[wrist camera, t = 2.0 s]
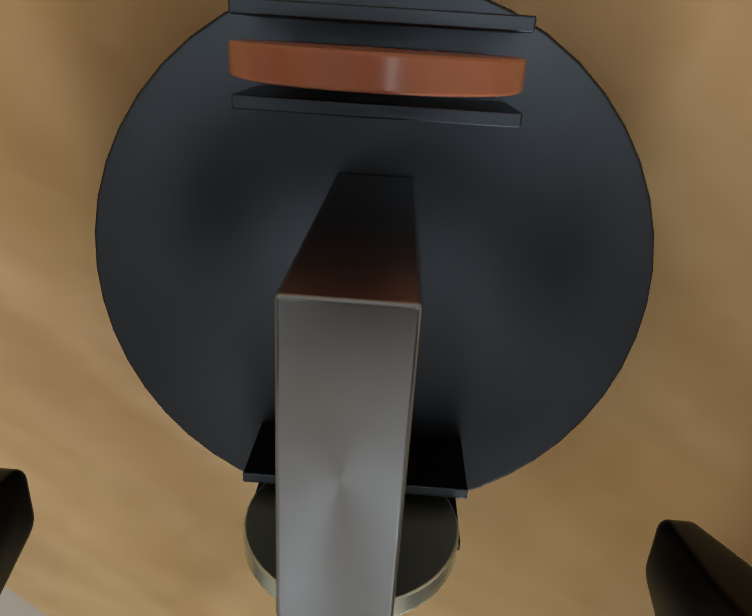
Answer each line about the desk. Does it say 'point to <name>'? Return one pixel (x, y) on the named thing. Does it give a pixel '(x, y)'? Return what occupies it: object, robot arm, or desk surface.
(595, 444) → the desk surface
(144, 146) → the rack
